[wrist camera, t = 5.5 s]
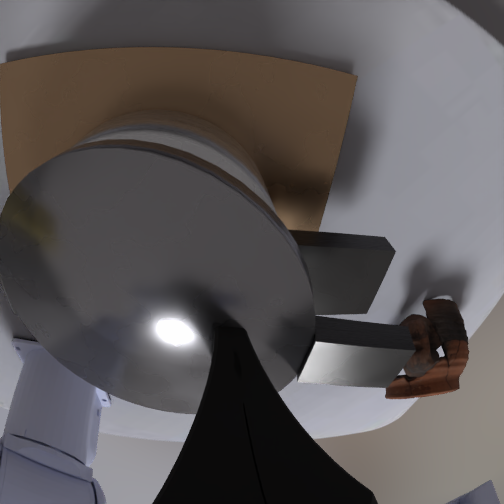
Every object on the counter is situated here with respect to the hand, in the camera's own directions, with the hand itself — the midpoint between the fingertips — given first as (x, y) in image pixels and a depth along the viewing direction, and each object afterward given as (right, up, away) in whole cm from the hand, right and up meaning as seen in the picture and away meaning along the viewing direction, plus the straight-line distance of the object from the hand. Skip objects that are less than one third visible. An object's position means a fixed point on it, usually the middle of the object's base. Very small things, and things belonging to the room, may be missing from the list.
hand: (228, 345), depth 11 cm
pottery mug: (+15, -4, +16) cm, 23 cm away
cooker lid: (-2, +1, +1) cm, 2 cm away
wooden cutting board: (-4, +5, +6) cm, 9 cm away
